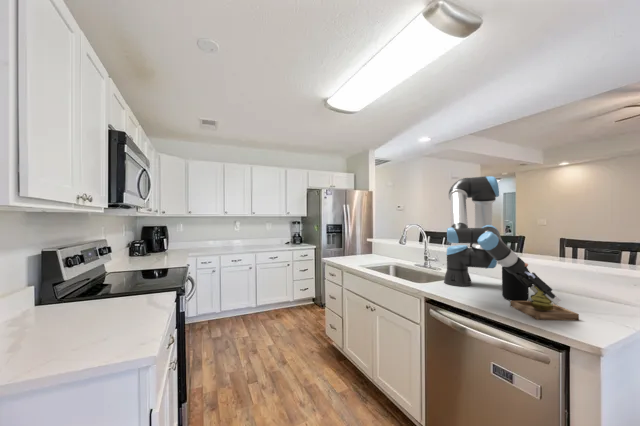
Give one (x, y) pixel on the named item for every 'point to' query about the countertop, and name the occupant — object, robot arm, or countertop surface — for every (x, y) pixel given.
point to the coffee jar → (513, 287)
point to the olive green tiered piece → (541, 301)
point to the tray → (545, 311)
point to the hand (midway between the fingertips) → (550, 299)
